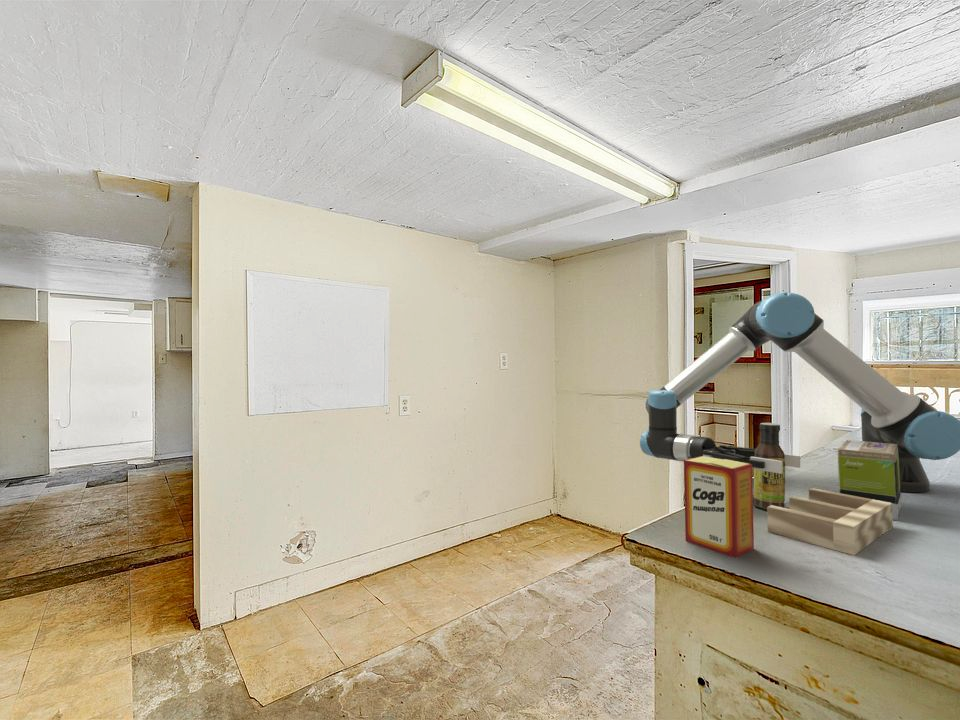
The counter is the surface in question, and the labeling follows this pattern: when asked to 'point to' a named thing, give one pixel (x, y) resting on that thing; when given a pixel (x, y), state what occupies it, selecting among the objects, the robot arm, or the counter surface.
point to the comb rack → (832, 520)
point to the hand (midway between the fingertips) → (790, 464)
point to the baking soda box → (719, 504)
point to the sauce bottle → (767, 483)
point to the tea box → (870, 472)
